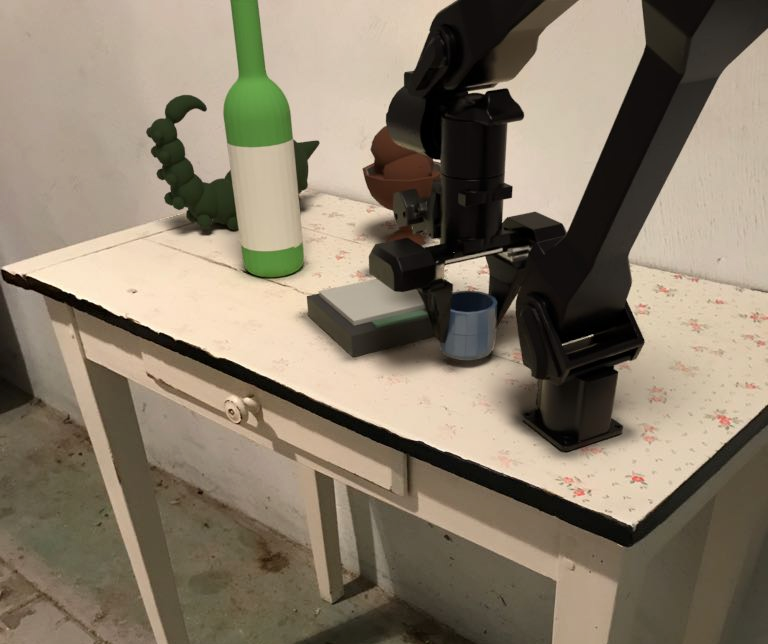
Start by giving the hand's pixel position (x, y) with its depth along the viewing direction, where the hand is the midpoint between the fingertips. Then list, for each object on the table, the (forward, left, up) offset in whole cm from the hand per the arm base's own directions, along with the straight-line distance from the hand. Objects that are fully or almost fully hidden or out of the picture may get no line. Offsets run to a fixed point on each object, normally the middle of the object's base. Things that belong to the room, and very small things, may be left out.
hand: (467, 334), depth 82 cm
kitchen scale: (+12, +4, -2) cm, 13 cm away
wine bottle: (+34, +8, -3) cm, 35 cm away
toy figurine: (+54, +4, -3) cm, 55 cm away
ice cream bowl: (+34, -11, -3) cm, 36 cm away
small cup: (0, 0, -2) cm, 2 cm away
